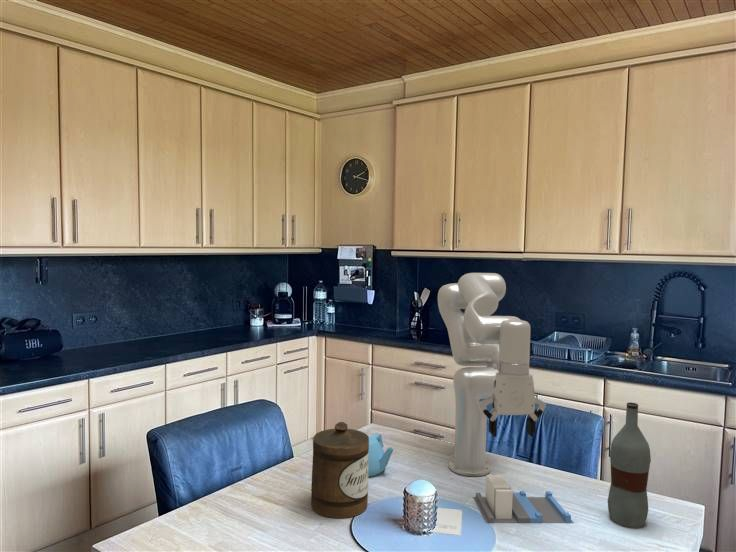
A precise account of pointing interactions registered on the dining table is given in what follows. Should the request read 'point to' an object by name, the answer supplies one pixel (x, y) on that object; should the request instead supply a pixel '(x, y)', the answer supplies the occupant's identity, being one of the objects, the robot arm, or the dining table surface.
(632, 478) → the bottle
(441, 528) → the external hard drive
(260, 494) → the dining table surface
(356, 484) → the wooden container
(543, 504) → the board
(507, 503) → the block
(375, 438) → the teapot
